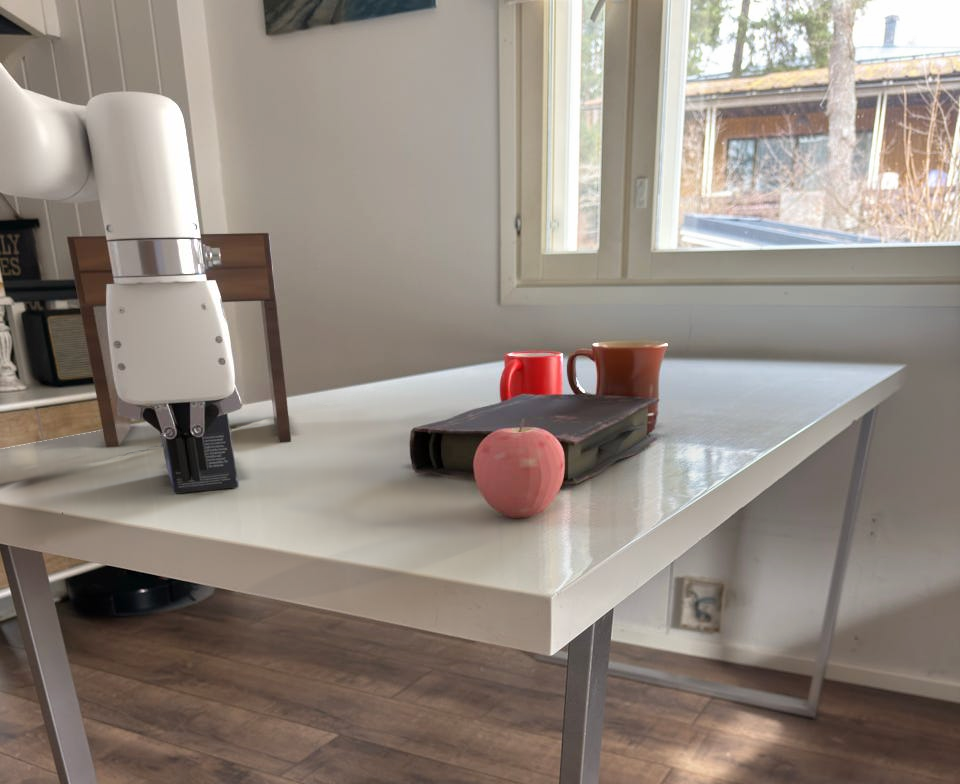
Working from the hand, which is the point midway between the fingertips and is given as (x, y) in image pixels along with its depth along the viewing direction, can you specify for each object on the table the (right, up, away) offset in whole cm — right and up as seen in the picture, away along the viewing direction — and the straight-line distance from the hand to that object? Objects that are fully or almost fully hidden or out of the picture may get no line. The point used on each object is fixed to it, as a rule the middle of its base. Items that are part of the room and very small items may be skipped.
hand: (192, 478), depth 83 cm
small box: (-1, +1, +7) cm, 7 cm away
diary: (+34, +4, +13) cm, 36 cm away
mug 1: (+33, +15, +39) cm, 53 cm away
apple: (+30, -5, -8) cm, 31 cm away
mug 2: (+43, +10, +26) cm, 51 cm away
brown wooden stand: (-8, +10, +29) cm, 32 cm away
